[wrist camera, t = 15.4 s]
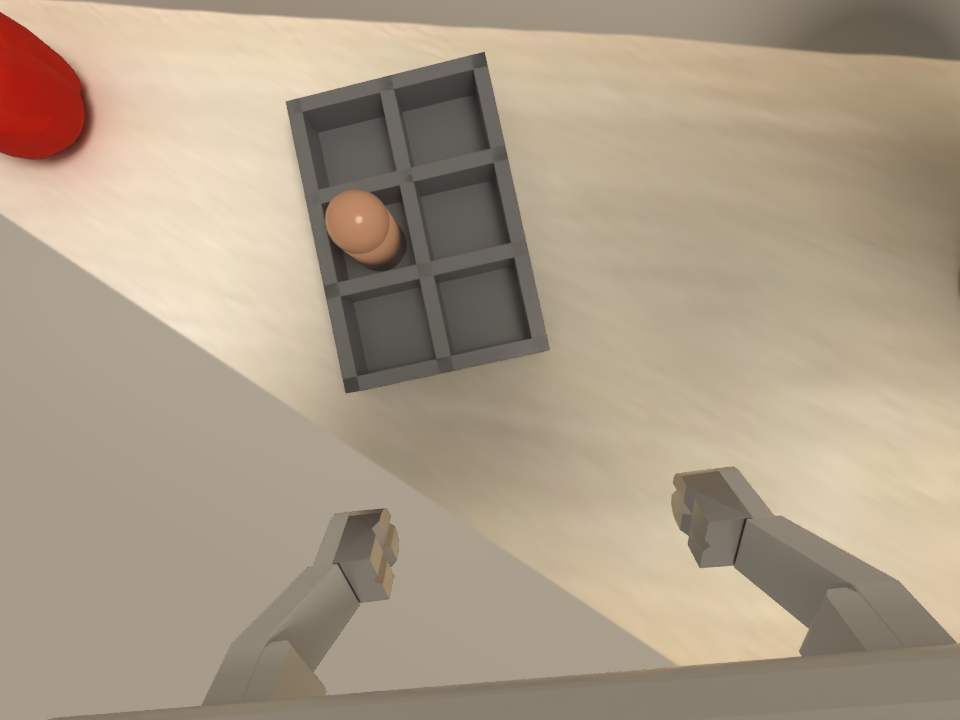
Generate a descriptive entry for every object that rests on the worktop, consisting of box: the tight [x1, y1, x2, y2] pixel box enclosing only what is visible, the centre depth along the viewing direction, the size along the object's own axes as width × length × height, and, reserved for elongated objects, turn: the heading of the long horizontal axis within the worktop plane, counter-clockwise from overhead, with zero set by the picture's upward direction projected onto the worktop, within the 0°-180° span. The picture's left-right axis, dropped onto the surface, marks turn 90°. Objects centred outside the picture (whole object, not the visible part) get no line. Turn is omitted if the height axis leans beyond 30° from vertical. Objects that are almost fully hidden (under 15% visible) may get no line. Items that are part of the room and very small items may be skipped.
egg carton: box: [286, 52, 550, 393], centre depth 35 cm, size 17×25×4 cm
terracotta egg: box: [325, 189, 407, 272], centre depth 32 cm, size 5×5×8 cm
